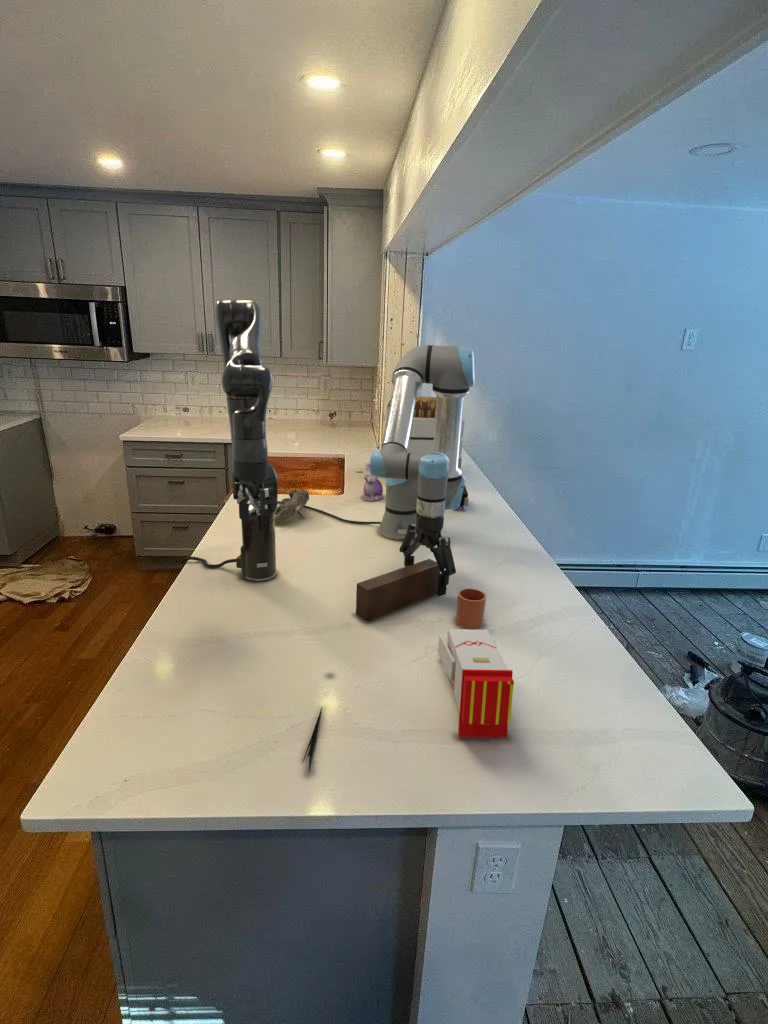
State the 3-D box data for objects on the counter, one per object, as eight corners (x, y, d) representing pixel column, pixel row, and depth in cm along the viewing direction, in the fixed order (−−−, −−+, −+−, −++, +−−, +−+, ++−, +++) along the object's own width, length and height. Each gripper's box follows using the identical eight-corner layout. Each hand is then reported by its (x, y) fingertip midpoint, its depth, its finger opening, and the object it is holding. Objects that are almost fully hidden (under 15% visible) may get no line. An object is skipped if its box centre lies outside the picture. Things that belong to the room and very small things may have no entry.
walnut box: (366, 622, 143) (368, 590, 140) (355, 614, 146) (356, 583, 143) (438, 593, 159) (441, 564, 156) (427, 587, 162) (429, 558, 159)
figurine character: (468, 514, 225) (463, 498, 239) (470, 497, 222) (465, 482, 235) (451, 514, 225) (447, 498, 238) (453, 497, 222) (449, 481, 235)
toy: (488, 613, 130) (523, 677, 101) (484, 667, 133) (517, 744, 104) (435, 612, 130) (455, 676, 101) (432, 666, 133) (451, 743, 103)
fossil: (278, 495, 221) (307, 474, 216) (294, 513, 224) (323, 493, 219) (262, 520, 201) (293, 498, 196) (280, 540, 204) (311, 518, 199)
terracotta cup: (450, 620, 145) (452, 593, 143) (467, 612, 150) (470, 585, 147) (470, 632, 141) (473, 603, 138) (488, 623, 145) (491, 596, 142)
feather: (331, 679, 122) (336, 673, 122) (307, 777, 96) (313, 769, 95) (324, 675, 122) (329, 669, 121) (298, 772, 95) (304, 764, 95)
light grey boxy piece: (382, 463, 289) (386, 382, 275) (445, 464, 293) (451, 384, 279) (390, 482, 257) (394, 392, 243) (460, 483, 261) (468, 394, 247)
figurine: (367, 502, 230) (368, 467, 225) (357, 495, 238) (358, 460, 233) (388, 500, 234) (389, 465, 229) (377, 492, 242) (378, 458, 237)
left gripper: (220, 452, 129) (224, 518, 135) (250, 466, 119) (253, 537, 125) (250, 448, 134) (252, 512, 139) (281, 461, 124) (283, 530, 129)
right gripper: (389, 503, 157) (385, 573, 164) (454, 530, 140) (447, 607, 147) (409, 498, 162) (404, 567, 169) (474, 524, 144) (466, 599, 152)
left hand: (253, 524), depth 132 cm, fingers open, 8 cm apart
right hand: (424, 586), depth 158 cm, fingers open, 12 cm apart
